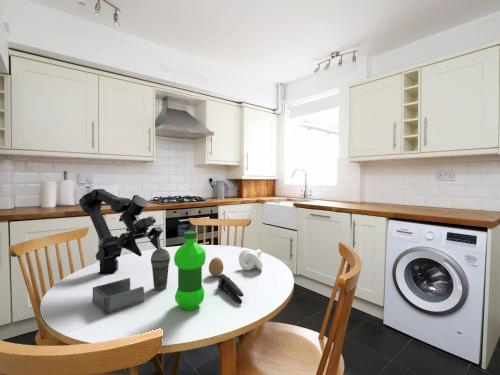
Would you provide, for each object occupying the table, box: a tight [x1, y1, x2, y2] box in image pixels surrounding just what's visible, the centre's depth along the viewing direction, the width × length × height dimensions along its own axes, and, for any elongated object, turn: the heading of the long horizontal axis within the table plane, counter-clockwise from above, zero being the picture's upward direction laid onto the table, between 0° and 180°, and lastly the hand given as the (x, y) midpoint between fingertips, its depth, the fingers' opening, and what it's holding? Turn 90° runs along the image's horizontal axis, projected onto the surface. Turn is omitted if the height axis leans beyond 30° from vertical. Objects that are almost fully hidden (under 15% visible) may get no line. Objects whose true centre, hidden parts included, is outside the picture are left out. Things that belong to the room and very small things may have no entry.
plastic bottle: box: [173, 230, 207, 311], centre depth 87 cm, size 10×10×25 cm
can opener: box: [217, 273, 244, 304], centre depth 97 cm, size 18×7×6 cm, turn 27°
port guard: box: [92, 277, 145, 316], centre depth 90 cm, size 12×12×5 cm
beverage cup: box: [150, 236, 171, 292], centre depth 101 cm, size 7×7×20 cm
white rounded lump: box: [238, 248, 264, 271], centre depth 126 cm, size 11×12×9 cm
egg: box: [208, 257, 224, 277], centre depth 115 cm, size 6×6×8 cm
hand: (150, 252), depth 103 cm, fingers open, 9 cm apart
